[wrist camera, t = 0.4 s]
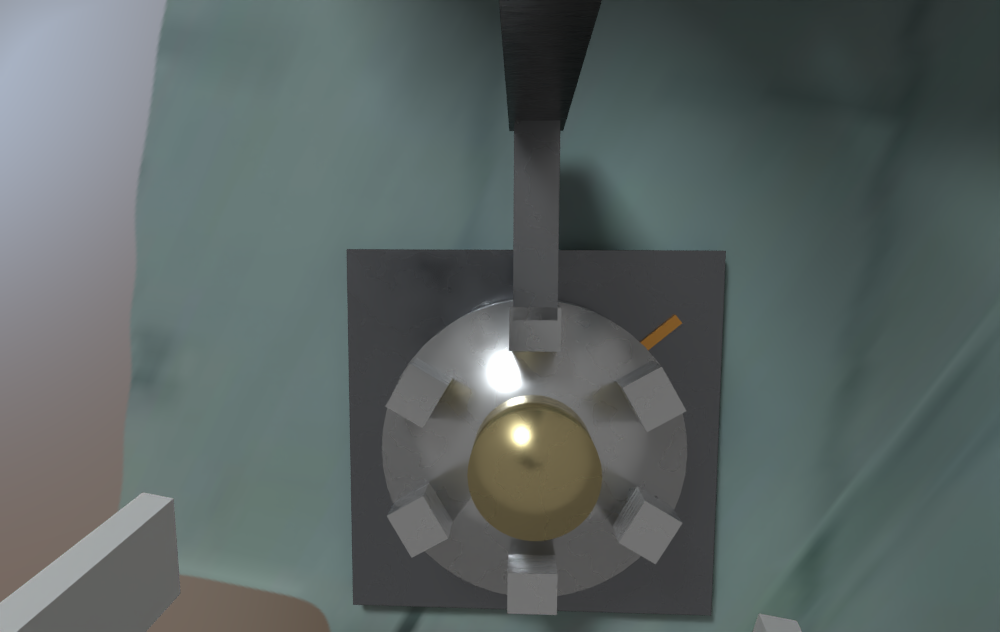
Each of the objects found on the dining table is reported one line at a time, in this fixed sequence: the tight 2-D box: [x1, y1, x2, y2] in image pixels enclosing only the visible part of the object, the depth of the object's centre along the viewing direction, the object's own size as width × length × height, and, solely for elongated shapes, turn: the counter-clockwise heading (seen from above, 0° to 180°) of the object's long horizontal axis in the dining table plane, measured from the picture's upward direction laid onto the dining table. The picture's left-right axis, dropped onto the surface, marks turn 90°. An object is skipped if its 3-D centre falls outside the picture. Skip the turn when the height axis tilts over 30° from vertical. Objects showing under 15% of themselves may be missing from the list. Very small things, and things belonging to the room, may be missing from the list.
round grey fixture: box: [382, 0, 687, 615], centre depth 24 cm, size 30×18×18 cm, turn 0°
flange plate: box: [347, 249, 726, 615], centre depth 31 cm, size 24×24×8 cm
